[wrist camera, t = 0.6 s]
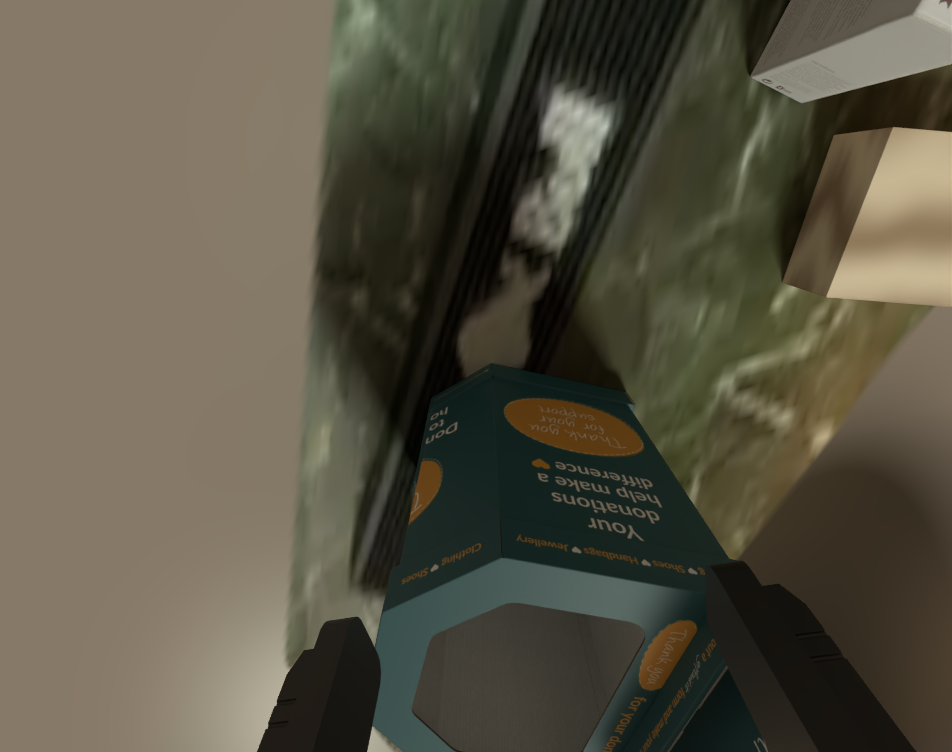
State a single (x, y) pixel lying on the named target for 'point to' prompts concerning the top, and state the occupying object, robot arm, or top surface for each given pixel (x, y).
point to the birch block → (880, 220)
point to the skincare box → (853, 45)
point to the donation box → (551, 584)
